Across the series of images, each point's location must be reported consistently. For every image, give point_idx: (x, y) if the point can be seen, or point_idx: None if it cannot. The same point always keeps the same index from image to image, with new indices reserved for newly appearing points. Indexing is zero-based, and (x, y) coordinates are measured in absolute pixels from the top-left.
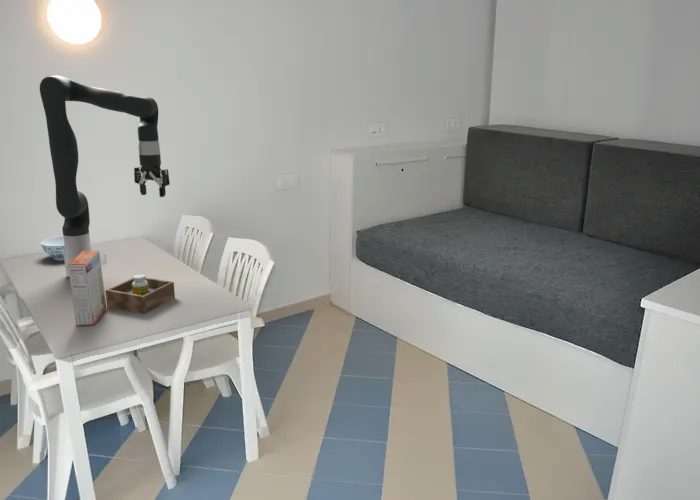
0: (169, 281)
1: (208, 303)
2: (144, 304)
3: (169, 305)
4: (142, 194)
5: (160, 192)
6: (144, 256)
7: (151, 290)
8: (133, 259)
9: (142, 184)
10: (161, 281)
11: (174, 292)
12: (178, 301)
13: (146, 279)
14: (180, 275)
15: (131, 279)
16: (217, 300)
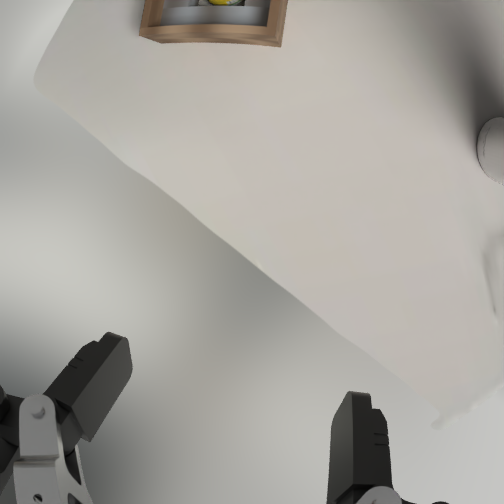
0: (151, 33)
1: (83, 53)
2: None
3: None
4: (354, 393)
5: (88, 361)
6: (407, 325)
7: (206, 11)
8: (427, 299)
9: (349, 501)
10: (174, 25)
11: (154, 40)
12: None
13: (231, 25)
14: (235, 199)
15: (272, 4)
16: (75, 76)
